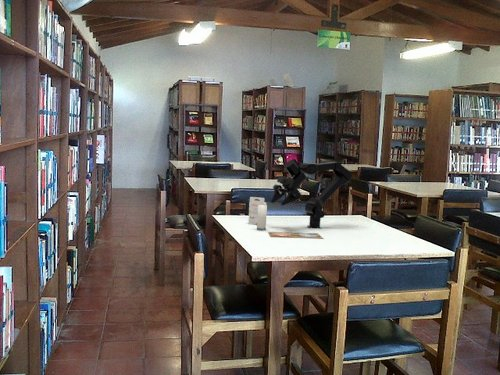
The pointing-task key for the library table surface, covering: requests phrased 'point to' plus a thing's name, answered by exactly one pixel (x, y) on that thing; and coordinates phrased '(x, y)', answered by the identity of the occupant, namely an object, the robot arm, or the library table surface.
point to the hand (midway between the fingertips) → (276, 203)
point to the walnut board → (295, 235)
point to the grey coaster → (308, 235)
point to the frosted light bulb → (261, 217)
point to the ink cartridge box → (254, 209)
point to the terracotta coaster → (281, 234)
